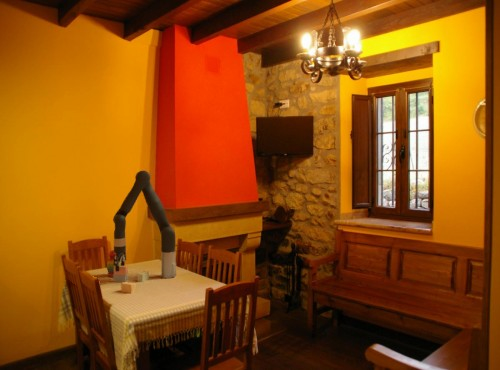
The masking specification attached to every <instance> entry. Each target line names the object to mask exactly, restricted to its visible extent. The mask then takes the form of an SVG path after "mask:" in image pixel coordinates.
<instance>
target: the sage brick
mask: <svg viewBox="0 0 500 370" xmlns="http://www.w3.org/2000/svg"><path fill="white" fill-rule="evenodd" d="M149 279H150V272H149V271H145V270H144V271H141V272H139V273H138V274H137V282H140V283H143V282H145V281H147V280H149Z"/></svg>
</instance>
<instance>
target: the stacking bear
mask: <svg viewBox="0 0 500 370" xmlns="http://www.w3.org/2000/svg"><path fill="white" fill-rule="evenodd" d="M114 256H116V253H114V249H112V250H110V251H109V253H108V257H109V258H108V260H107V264H106V270H107V277H108V278H113V274H114V266H115V265H114ZM121 263H122V262H120V264H119V266H121Z"/></svg>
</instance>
